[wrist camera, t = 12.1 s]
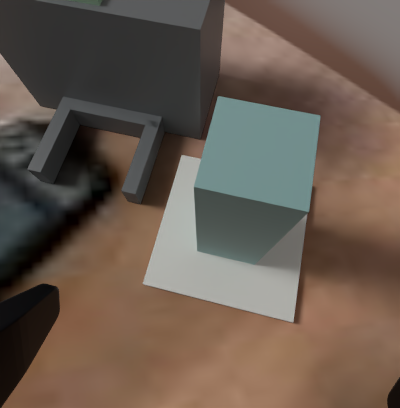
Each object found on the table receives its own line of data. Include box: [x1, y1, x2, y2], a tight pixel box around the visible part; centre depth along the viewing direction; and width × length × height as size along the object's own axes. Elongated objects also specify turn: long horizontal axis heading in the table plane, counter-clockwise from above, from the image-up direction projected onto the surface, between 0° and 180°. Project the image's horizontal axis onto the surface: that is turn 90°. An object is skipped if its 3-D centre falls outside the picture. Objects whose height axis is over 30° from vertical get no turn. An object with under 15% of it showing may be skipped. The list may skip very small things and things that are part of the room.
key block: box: [194, 96, 320, 265], centre depth 16 cm, size 4×4×11 cm
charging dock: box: [0, 0, 225, 204], centre depth 20 cm, size 14×14×10 cm
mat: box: [143, 155, 307, 322], centre depth 22 cm, size 10×10×1 cm
